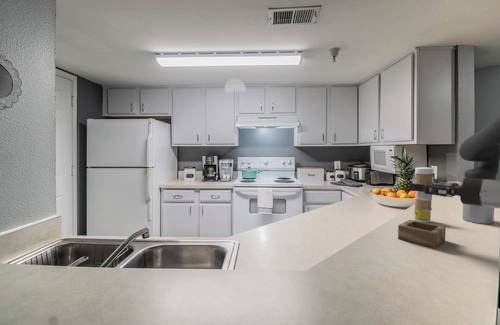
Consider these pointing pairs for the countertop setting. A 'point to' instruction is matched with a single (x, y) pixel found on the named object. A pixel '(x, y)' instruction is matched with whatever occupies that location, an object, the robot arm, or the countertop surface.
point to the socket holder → (422, 233)
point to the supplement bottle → (422, 216)
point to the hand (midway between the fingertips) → (413, 186)
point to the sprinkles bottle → (420, 197)
